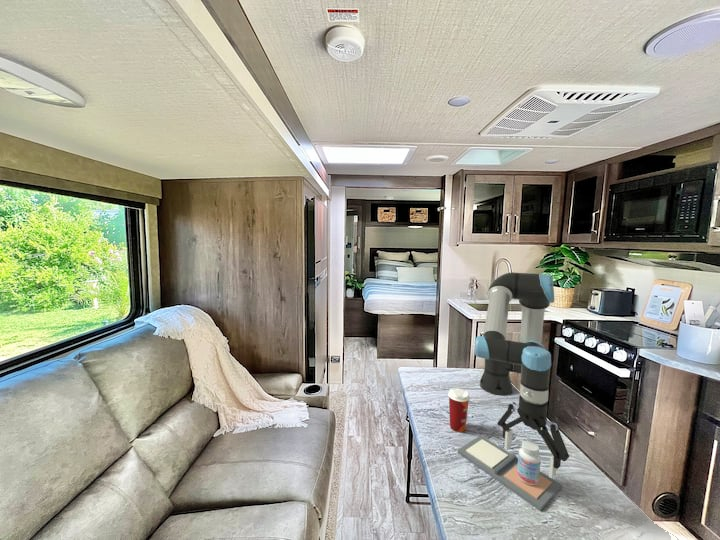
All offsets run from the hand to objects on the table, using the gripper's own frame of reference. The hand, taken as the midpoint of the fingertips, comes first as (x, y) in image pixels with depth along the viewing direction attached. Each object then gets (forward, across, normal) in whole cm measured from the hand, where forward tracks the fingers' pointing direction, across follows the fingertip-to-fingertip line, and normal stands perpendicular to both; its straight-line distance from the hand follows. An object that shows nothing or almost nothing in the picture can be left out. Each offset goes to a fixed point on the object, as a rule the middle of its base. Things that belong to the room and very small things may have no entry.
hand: (528, 461), depth 94 cm
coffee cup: (+8, -30, +4) cm, 31 cm away
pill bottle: (+6, 0, 0) cm, 6 cm away
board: (+7, -7, 0) cm, 10 cm away
